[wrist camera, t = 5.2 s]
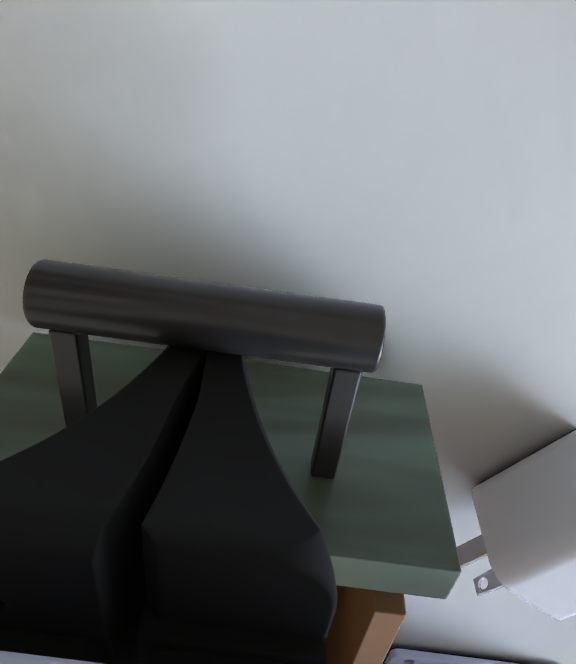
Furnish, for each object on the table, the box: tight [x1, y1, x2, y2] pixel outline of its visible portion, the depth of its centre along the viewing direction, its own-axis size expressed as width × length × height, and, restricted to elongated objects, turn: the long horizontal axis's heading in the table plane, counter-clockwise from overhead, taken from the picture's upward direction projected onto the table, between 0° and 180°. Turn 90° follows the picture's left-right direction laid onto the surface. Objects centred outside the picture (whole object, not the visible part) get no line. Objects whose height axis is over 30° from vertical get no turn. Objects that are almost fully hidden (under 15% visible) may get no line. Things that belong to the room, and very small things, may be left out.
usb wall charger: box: [456, 430, 576, 621], centre depth 19 cm, size 4×7×4 cm, turn 140°
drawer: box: [0, 259, 461, 664], centre depth 16 cm, size 18×12×6 cm, turn 173°
